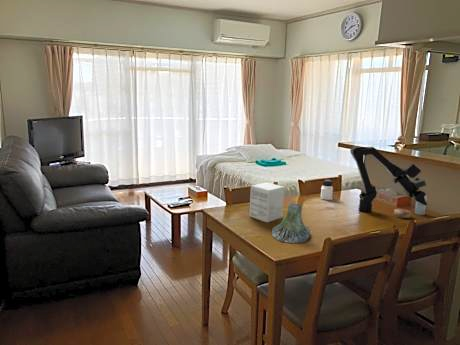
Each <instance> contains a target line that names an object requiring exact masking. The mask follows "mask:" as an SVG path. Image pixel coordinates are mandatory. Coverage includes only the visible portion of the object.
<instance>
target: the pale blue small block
mask: <svg viewBox="0 0 460 345" xmlns="http://www.w3.org/2000/svg"><path fill="white" fill-rule="evenodd" d="M424 199H425V201H426V202H427V199H428V196H427V194H426V195H425V196H424ZM426 206H427V205H424V204H422V203H419V202H417V201H416V200H415V207H414V214H416V215H418V216H424V215H425V213H426Z"/></svg>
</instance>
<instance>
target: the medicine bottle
mask: <svg viewBox="0 0 460 345" xmlns="http://www.w3.org/2000/svg"><path fill="white" fill-rule="evenodd" d="M320 190H321V191H320V199H321V200H326V201H327V200H328V201H333V195H334V188H333V181H332V180H330V179H325V180H322V185H321V188H320Z"/></svg>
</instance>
